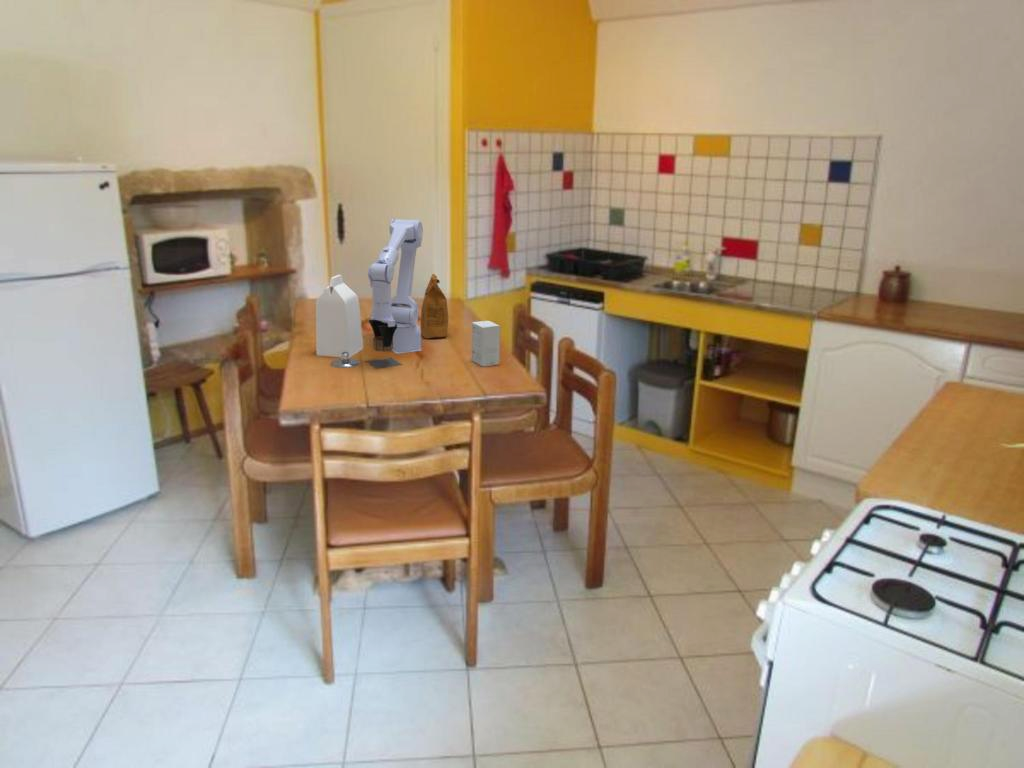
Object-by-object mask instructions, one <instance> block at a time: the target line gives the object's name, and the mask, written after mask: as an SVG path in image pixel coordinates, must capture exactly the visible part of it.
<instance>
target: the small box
mask: <svg viewBox="0 0 1024 768" xmlns="http://www.w3.org/2000/svg"><path fill="white" fill-rule="evenodd" d="M500 333H501V325H499V324H496V323H495V322H493V321H491V320H481V321H472V322H471V361H472V362H474V363H476V364H477V365H479V366H481V367H490V366H496V365H497V366H498V365H500V360H501V358H500V356H501V355H500V354H501V353H500V347H501V345H500V341H501V340H500V339H501V335H500Z"/></svg>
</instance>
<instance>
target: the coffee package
mask: <svg viewBox="0 0 1024 768" xmlns="http://www.w3.org/2000/svg"><path fill="white" fill-rule="evenodd" d="M440 282H441V281H440V280H439V278H438V276H437V275H436V274H435V273H433V274H431V276H430V279H429V282H428V284H427V286H426V289H425V292H424V297H423V301H422V305H421V309H420V310H421V313H420V330H421V331H422V333H421V337H423V338H424V339H434V338H444V337H448V328H449V327H448V326H449V310H448V301H447V297H446V295H445V294H444V293H443V291H442V289H441V288H440V287H439V285H438V284H440Z"/></svg>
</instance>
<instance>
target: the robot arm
mask: <svg viewBox="0 0 1024 768" xmlns="http://www.w3.org/2000/svg"><path fill="white" fill-rule="evenodd" d="M388 229H389V234H390V236H389V240H388V243H387V246H384V247H382V248H381V250H380V252H379V255H378V256H377V258H376V260H375V262H373V263H372V264H370V265H369V267H368V271H367V272H368V273H367V275H368V280H369V286H370V288H371V291H372V296H371V297H372V310H370V316H369V319H368V323H369V325H370V327H371V329H372V331H373V336H374V338H375V337H378V336H382V339H383V344H384V347H389V346H391V344H392V339H393V349H392V350H390V352H393V353H395V354H397V355H398V354H404V353H405V354H406V353H412V352H418V351H419V352H420V351H423V349H422V333H421V326H420V325H418V324H417V322H418V320H419V304H418V302H416V300H415V299H414V298H413V297H412V289H413V281H414V273H415V264H416V263H415V262H416V255H417V249H418V248H420V247H422V242H423V235H424V230H423V229H424V228H423V223H422V221H421V220H420V219H399V218H398V219H397V218H392V219H391V221H390V222H389V228H388ZM399 250H401V251H400V255H399ZM399 256H400V260H399ZM398 260H399V268H398V269H399V270H398V277H397V278H398V279H397V284H396V285H397V287H396V295H395V296H394V297H392V287H391V286H392V285H391V283H392V281H393V279H394V273H395V266H396V264H397V262H398Z"/></svg>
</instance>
